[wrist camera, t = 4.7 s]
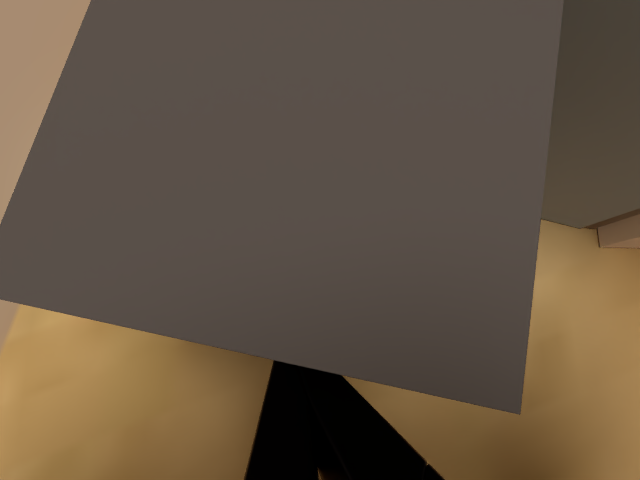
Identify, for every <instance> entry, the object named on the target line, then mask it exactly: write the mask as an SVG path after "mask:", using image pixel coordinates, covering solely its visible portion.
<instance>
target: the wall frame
mask: <svg viewBox="0 0 640 480" xmlns="http://www.w3.org/2000/svg"><path fill="white" fill-rule="evenodd" d="M597 229H598V236H599V244H600V247H613V248H640V214H638V215H635V216H632V217H629V218H626V219H623V220H620V221H617V222H613V223H610V224H607V225H604V226H601V227H598V228H597Z"/></svg>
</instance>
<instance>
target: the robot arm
mask: <svg viewBox="0 0 640 480" xmlns="http://www.w3.org/2000/svg"><path fill="white" fill-rule="evenodd" d="M426 465H427V462H426V460H425V459H424V458H423V457H422V456H421V455H420V454H419V453H418V452H417V451H416V450H415V449H414V448H413V447H412V446H411V445H410V444H409V443H408V442H407V441H406V440H405V439H404V438H403V437H402V436H401V435H400V434H399V433H398V432H397V431H396V430H395V429H394V428H393V427H392V426H391V425H390V424H389V423H388V422H387V421H386V420H385V419H384V418H383V417H382V416H381V415H380V414H379V413H378V412H377V411H376V410H375V409H374V408H373V407H372V406H371V405H370V404H369V403H368V402H367V401H366V400H365V399H364V398H363V397H362V396H361V395H360V394H359V393H358V392H357V391H356V390H355V389H354V388H353V386H352V385H351V384H350V383H349V382H348V381H347V380H346V379H345V378H344V377H343V376H342V375H339V374H335V373H330V372H326V371H321V370H317V369H312V368H307V367H303V366H298V365H294V364H289V363H285V362H280V361H276V360H274V361H273V365H272V369H271V373H270V377H269V381H268V385H267V389H266V393H265V397H264V401H263V405H262V409H261V413H260V417H259V421H258V425H257V429H256V433H255V437H254V441H253V445H252V449H251V453H250V457H249V461H248V465H247V469H246V473H245V477H244V480H319V476H318V471H319V473H320V476H321V479H322V480H445V479H444V478H443V477H442V476H441V475H440V474H439V473H438V472H437V471H436V470H435V469H434V468H433V467H432V466H431V465H430V464H428V465H427V466H426ZM317 467H318V468H317Z"/></svg>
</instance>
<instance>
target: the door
mask: <svg viewBox="0 0 640 480" xmlns="http://www.w3.org/2000/svg"><path fill="white" fill-rule="evenodd" d="M638 214H640V0H564V3H563V12H562V22H561V31H560V41H559V50H558V60H557V69H556V79H555V88H554V98H553V108H552V117H551V127H550V136H549V146H548V155H547V165H546V174H545V184H544V193H543V203H542V212H541V219H544V220H548V221H552V222H556V223H560V224H564V225H568V226H572V227H576V228H583V227H587V228H589V229H595V228H598V227H601V226H604V225H607V224H610V223H613V222H617V221H620V220H623V219H626V218H629V217H632V216H635V215H638Z"/></svg>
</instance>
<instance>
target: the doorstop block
mask: <svg viewBox="0 0 640 480" xmlns="http://www.w3.org/2000/svg"><path fill="white" fill-rule="evenodd" d="M563 3H564V0H91V2H90V4H89V7H88V9H87V12H86V14H85V17H84V19H83V22H82V24H81V27H80V29H79V31H78V34H77V36H76V39H75V41H74V44H73V46H72V49H71V51H70V54H69V56H68V59H67V61H66V64H65V66H64V68H63V71H62V74H61V76H60V78H59V81H58V83H57V86H56V88H55V91H54V93H53V96H52V98H51V101H50V103H49V106H48V108H47V110H46V113H45V115H44V118H43V120H42V123H41V125H40V128H39V130H38V133H37V135H36V138H35V140H34V143H33V145H32V148H31V150H30V152H29V155H28V158H27V160H26V162H25V165H24V167H23V170H22V172H21V175H20V177H19V180H18V182H17V185H16V187H15V189H14V192H13V194H12V197H11V200H10V202H9V204H8V207H7V209H6V212H5V214H4V217H3V219H2V222H1V224H0V299H1V300H5V301H10V302H14V303H19V304H23V305H28V306H32V307H37V308H41V309H46V310H50V311H55V312H60V313H64V314H69V315H73V316H78V317H82V318H87V319H91V320H96V321H100V322H105V323H109V324H114V325H118V326H123V327H127V328H132V329H136V330H141V331H145V332H150V333H154V334H159V335H163V336H168V337H172V338H177V339H181V340H186V341H190V342H195V343H199V344H204V345H208V346H213V347H217V348H222V349H226V350H231V351H235V352H240V353H244V354H249V355H253V356H258V357H262V358H267V359H271V360H276V361H280V362H285V363H289V364H294V365H298V366H303V367H307V368H312V369H317V370H321V371H326V372H330V373H335V374H339V375H344V376H348V377H353V378H357V379H362V380H366V381H371V382H375V383H380V384H384V385H389V386H393V387H398V388H402V389H407V390H411V391H416V392H420V393H425V394H429V395H434V396H438V397H443V398H447V399H452V400H456V401H461V402H465V403H470V404H474V405H479V406H483V407H488V408H492V409H497V410H501V411H506V412H510V413H515V414H519V415H520V412H521V403H522V393H523V383H524V374H525V364H526V355H527V345H528V336H529V326H530V317H531V307H532V298H533V288H534V279H535V269H536V260H537V250H538V241H539V231H540V222H541V212H542V203H543V193H544V184H545V174H546V165H547V155H548V146H549V136H550V127H551V117H552V108H553V98H554V88H555V79H556V69H557V60H558V50H559V41H560V31H561V22H562V12H563Z"/></svg>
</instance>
